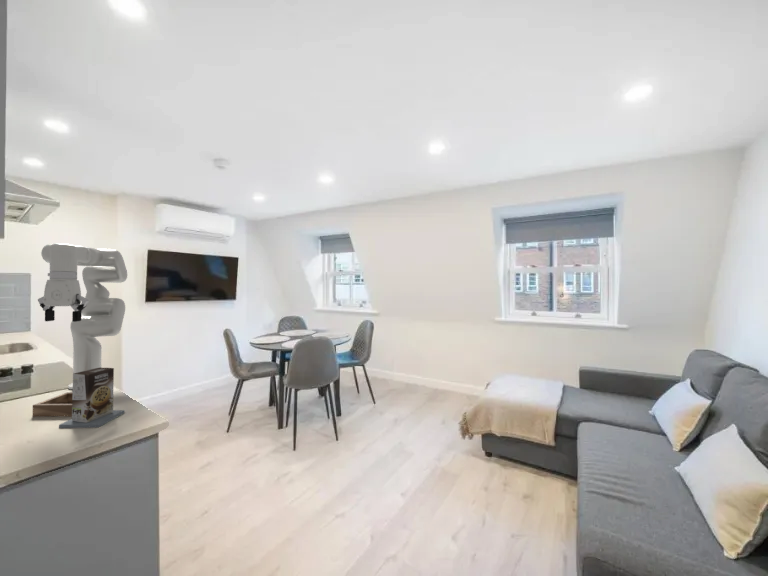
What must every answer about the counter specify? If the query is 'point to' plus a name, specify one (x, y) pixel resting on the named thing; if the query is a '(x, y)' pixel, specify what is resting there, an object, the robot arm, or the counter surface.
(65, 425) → the slate mat
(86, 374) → the dessert mix box
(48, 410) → the walnut dock
